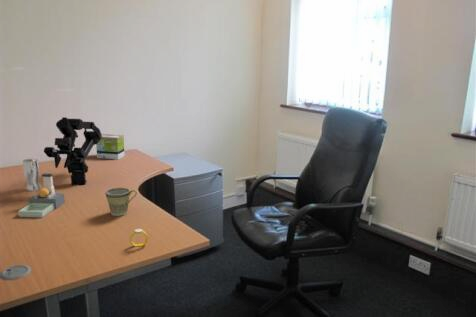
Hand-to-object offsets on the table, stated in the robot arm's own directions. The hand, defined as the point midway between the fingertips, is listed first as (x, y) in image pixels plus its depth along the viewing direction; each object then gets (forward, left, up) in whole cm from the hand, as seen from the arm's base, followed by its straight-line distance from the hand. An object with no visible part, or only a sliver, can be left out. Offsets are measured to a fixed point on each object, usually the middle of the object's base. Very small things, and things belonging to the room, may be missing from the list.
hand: (60, 167), depth 201 cm
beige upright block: (+3, +12, -9) cm, 16 cm away
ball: (+4, +16, -7) cm, 18 cm away
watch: (-38, +63, -14) cm, 75 cm away
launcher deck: (+4, +15, -14) cm, 21 cm away
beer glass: (+16, -12, -14) cm, 24 cm away
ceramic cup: (-30, +29, -14) cm, 44 cm away
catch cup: (+6, +23, -14) cm, 27 cm away
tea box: (-16, -74, -14) cm, 77 cm away
